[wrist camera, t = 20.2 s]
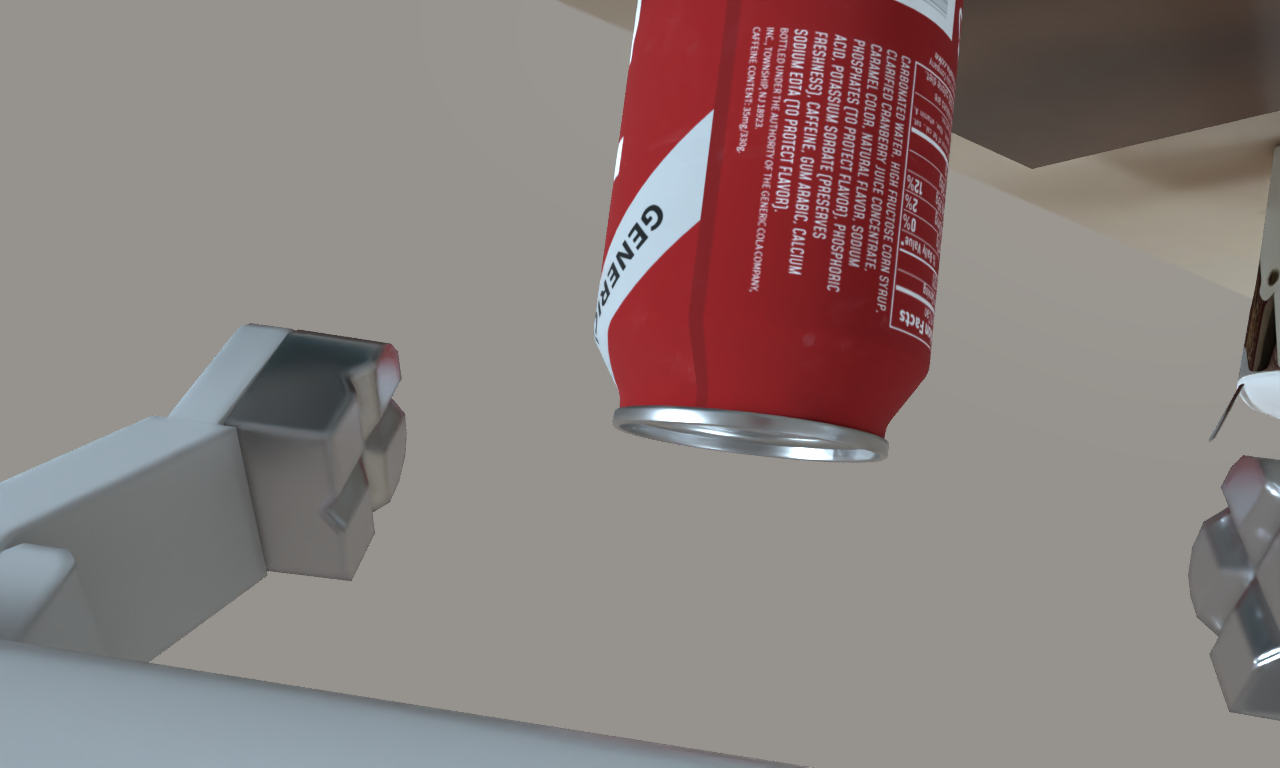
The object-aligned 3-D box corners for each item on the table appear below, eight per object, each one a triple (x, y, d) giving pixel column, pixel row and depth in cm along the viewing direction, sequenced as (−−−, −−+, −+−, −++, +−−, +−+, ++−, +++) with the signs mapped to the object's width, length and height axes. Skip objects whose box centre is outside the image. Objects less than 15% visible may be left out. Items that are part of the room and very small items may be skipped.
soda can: (829, -270, 19) (751, 416, 18) (1039, -94, 23) (990, 472, 22) (592, -124, 24) (515, 416, 23) (798, -1, 29) (746, 461, 27)
